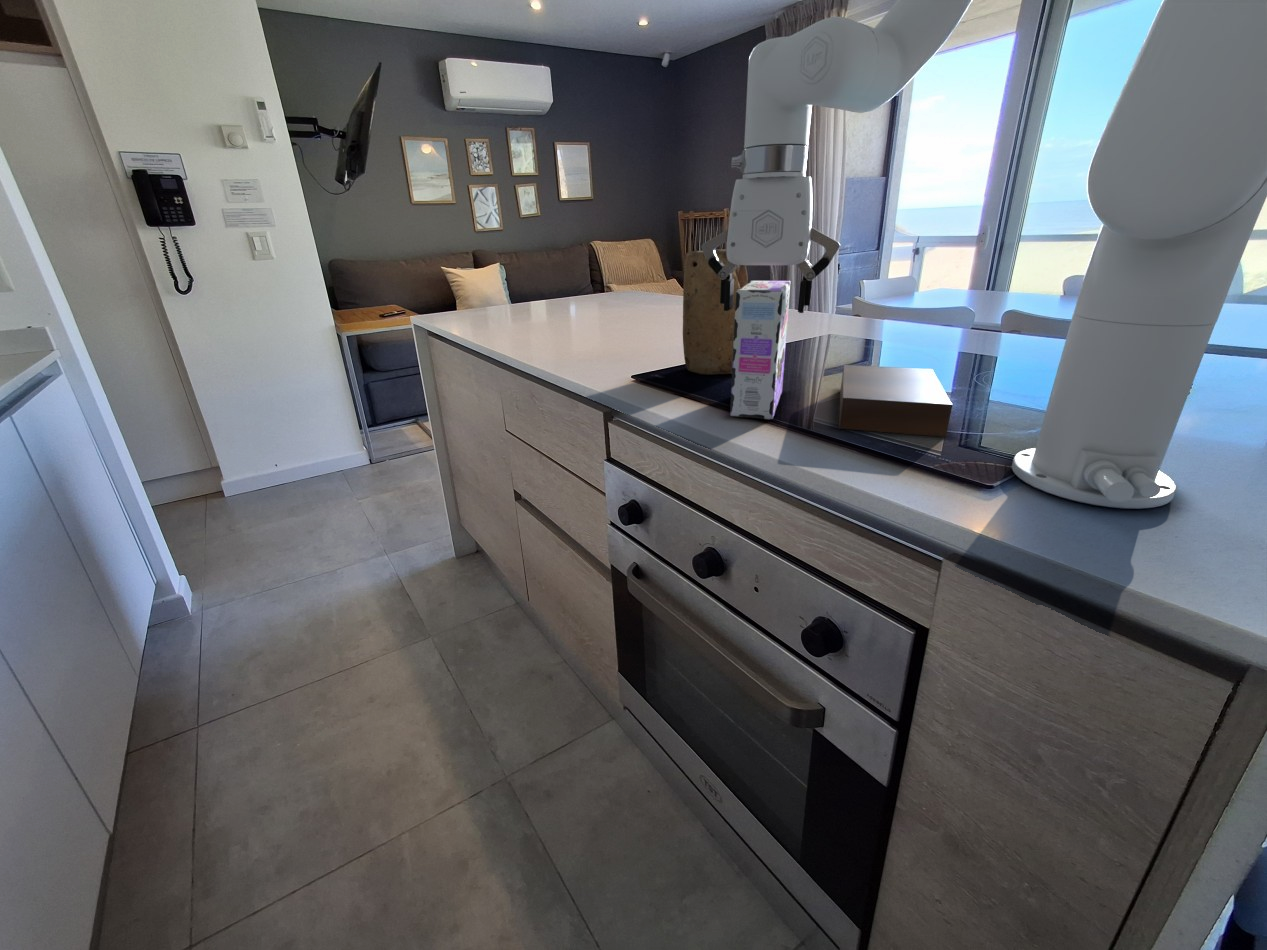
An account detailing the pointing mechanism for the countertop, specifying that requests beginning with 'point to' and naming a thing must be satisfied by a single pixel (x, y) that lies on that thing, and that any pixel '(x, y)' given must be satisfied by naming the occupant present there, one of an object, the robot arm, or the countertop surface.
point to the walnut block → (893, 400)
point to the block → (708, 315)
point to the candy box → (759, 348)
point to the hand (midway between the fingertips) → (764, 310)
